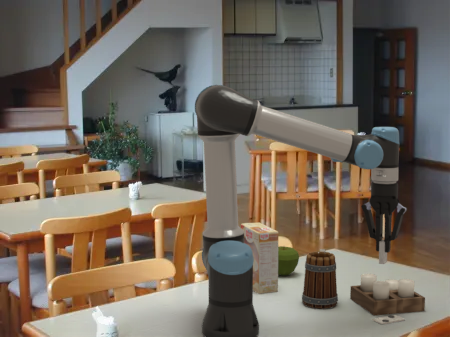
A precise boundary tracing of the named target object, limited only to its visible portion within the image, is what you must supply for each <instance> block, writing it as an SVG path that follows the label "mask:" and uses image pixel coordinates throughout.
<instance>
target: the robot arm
mask: <svg viewBox="0 0 450 337" xmlns="http://www.w3.org/2000/svg"><path fill="white" fill-rule="evenodd" d="M194 112H195V115H196V125H197V126H196V127H197V137H198V138H200V140H201V141H202V142H203V154H204V156H203V158H204V176H205V177H204V178H205V198H206V202H205V203H206V218H207V220H206V221H207V227H206V228H205V229H204V230H203V231H202V251H201V260H202V263H203V264H202V265H203V266H204V268H205V270H206V273H207V278H208V305H207V308H206V311H205V315H204V316H203V319H202V323H201V334H202V335H203V336H204V337H258V335H259V333H260V324H259V323H260V322H259V320H258V316H257V314H256V311H255V308H254V307H255V306H254V303H253V302H254V301H253V300H254V299H253V297H254V295H253V294H254V290H253V262H254V257H253V251H252V249H251V247H250V246H249V245H247V244H245V242H244V230H243V229H241V226H239V209H238V206H239V205H238V187H237V186H238V183H237V166H236V165H237V159H236V140H237V139H238V137H239V136H240V135H242V136H245V137H249V136H251V135H256V136H258V137H262V138H264V139H268V140H272V141H274V142H278V143H282V144H283V145H287V146H291V147H294V148H297V149H301V150H304V151H307V152H310V153H314V154H318V155H320V156H324V157H327V158H329V159H330V160H331V161H332V162H334V163H345V164H349V165H353V166H356V167H358V168H360V169H363V170H371V171H370V172H371V173H370V174H371V176H370V178H371V179H370V180H372V182H371V183H370V198H369V200H368V202H366V203H364V204H362V205H361V209H362V210H363V213H364V217H365V221H366V225H367V229H368V233H369V238H371V239H374V240H375V250H376V252H378V264H380V265H385V264H386V263H388V253H390V252H391V247H392V246H391V243H392V242H391V241H395V240H397V239H398V237H399V232H400V230H401V225H402V222H403V219H404V215H405V214H406V212H407V211H408V207H406V206H403V205H402V204H401V203H400V199H399V184H398V181H399V156H400V131H399V130H398V128H396V127H395V126H375V127H373V128H372V129H371V133H370V134H369V133H368V134H351V133H348V132H345V131H343V130H339V129H336V128H334V127H330V126H326V125H324V124H321V123H318V122H315V121H311V120H309V119H304V118H302V117H300V116H299V117H298V116H295V115H292V114H289V113H286V112H282V111H280V110H276V109H273V108H270V107H266V106H264V105H262V104H261V103H260V101H259V100H258V99H254V98H252V97H249V96H246V95H244V94H242V93H240V92H238V90H237V91H236V90H235V89H233V88H232V87H228V86H226V85H222V84H213V85H209V86H207V87H205V88H203V89H202V90H201V91H200V92H199V93H198V95H197V97H196V99H195V102H194ZM372 209H373V210H374V212H375V222H374V216H373V211H372ZM395 210H396V218H395V219H394V225H393V228H392V219H393V218H392V217H393V213H394V212H395ZM383 220H384V221H383ZM383 226H384V230H383ZM383 231H384V236H383Z"/></svg>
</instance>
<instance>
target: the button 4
mask: <svg viewBox="0 0 450 337" xmlns="http://www.w3.org/2000/svg"><path fill="white" fill-rule="evenodd" d="M397 280H398V297H400V298H413V297H414V292H415V280H413V279H410V278H409V279H408V278H401V279H397Z"/></svg>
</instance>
